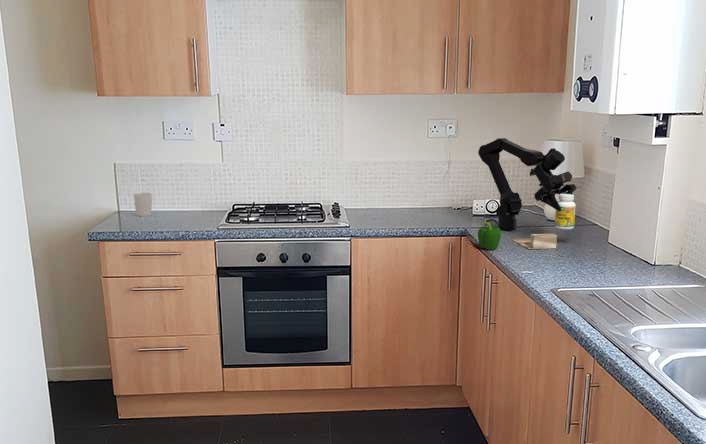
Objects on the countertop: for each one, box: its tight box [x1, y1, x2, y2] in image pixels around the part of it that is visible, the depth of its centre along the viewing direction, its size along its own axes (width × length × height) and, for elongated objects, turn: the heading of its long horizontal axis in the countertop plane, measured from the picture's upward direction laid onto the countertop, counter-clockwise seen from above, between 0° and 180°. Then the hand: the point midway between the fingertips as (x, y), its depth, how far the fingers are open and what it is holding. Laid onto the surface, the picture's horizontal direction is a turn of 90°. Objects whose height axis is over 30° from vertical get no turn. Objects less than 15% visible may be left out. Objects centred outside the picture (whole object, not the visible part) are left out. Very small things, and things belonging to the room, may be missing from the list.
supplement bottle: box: [554, 194, 577, 230], centre depth 235 cm, size 7×7×13 cm
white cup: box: [133, 192, 153, 217], centre depth 286 cm, size 8×8×10 cm
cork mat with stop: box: [511, 233, 558, 250], centre depth 234 cm, size 16×12×5 cm
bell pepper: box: [477, 221, 502, 251], centre depth 227 cm, size 8×8×10 cm
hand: (566, 209), depth 234 cm, fingers closed on supplement bottle, 7 cm apart
